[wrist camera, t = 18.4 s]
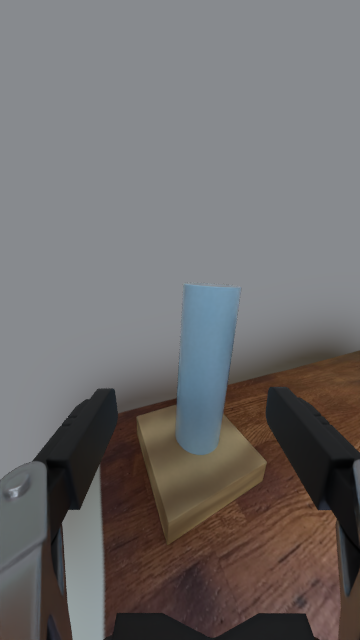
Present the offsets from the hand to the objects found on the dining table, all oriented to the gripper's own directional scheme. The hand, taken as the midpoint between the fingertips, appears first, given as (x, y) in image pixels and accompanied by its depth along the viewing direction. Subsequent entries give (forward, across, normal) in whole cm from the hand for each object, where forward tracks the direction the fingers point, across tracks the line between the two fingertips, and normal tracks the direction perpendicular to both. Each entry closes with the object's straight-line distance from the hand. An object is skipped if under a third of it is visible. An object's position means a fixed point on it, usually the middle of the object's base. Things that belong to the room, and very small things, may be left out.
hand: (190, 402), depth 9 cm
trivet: (+10, -1, +16) cm, 19 cm away
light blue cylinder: (+10, -1, +14) cm, 17 cm away
